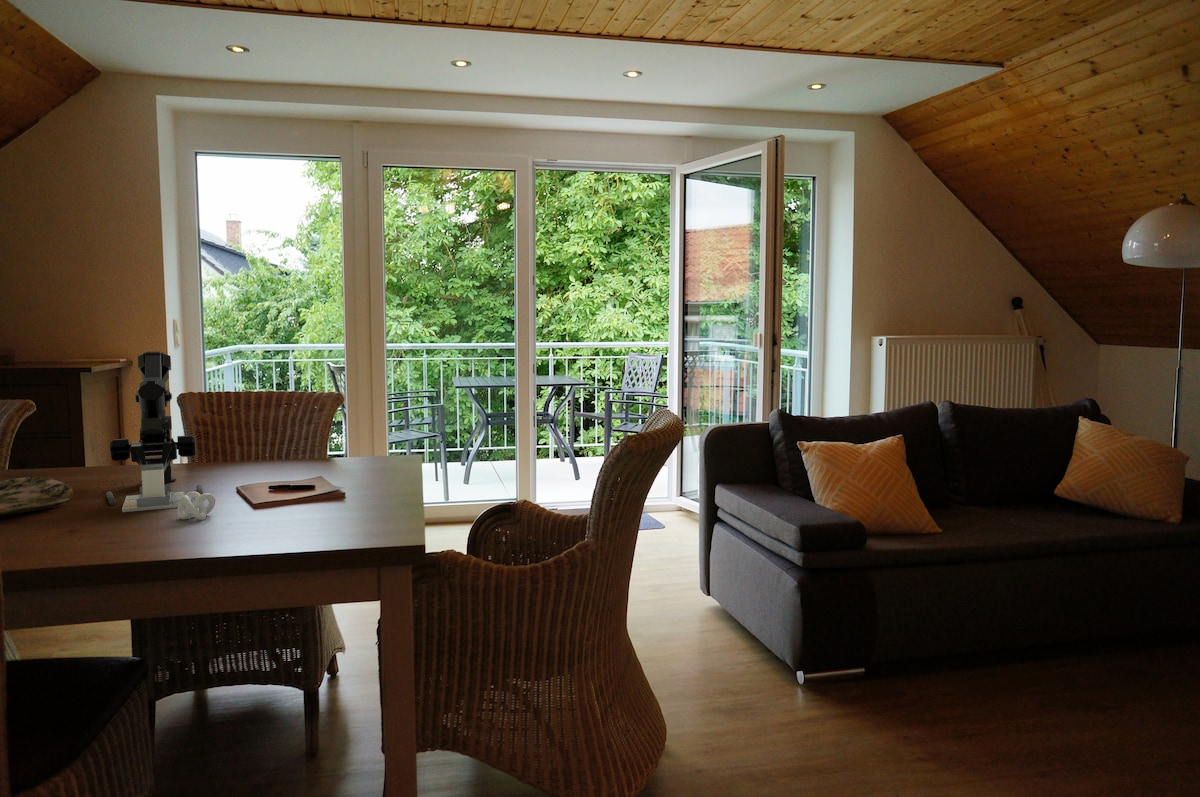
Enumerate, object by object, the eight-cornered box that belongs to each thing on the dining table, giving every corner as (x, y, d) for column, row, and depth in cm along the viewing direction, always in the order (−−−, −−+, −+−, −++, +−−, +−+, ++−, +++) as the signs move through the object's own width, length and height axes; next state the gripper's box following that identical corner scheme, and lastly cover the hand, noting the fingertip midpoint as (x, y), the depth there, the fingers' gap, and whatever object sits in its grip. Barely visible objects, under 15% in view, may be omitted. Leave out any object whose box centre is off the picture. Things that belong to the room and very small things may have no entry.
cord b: (105, 496, 214) (105, 491, 214) (112, 496, 215) (111, 490, 215) (109, 505, 204) (109, 500, 204) (116, 505, 205) (116, 499, 204)
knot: (209, 512, 197) (208, 488, 197) (222, 518, 192) (221, 493, 191) (174, 517, 192) (173, 492, 192) (187, 524, 186) (185, 498, 186)
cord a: (196, 489, 223) (196, 484, 223) (202, 489, 224) (202, 483, 224) (197, 498, 212) (196, 493, 212) (203, 497, 213) (202, 492, 213)
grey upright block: (144, 502, 204) (142, 464, 203) (164, 500, 206) (163, 463, 205) (143, 505, 200) (141, 467, 199) (164, 503, 202) (162, 466, 201)
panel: (126, 499, 211) (125, 488, 211) (184, 494, 217) (183, 483, 217) (122, 512, 197) (121, 500, 197) (184, 506, 203) (183, 495, 202)
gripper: (108, 407, 206) (107, 458, 198) (193, 403, 215) (195, 453, 206) (112, 434, 214) (111, 485, 205) (194, 430, 222) (196, 479, 214)
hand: (154, 475), depth 207 cm, fingers open, 3 cm apart
